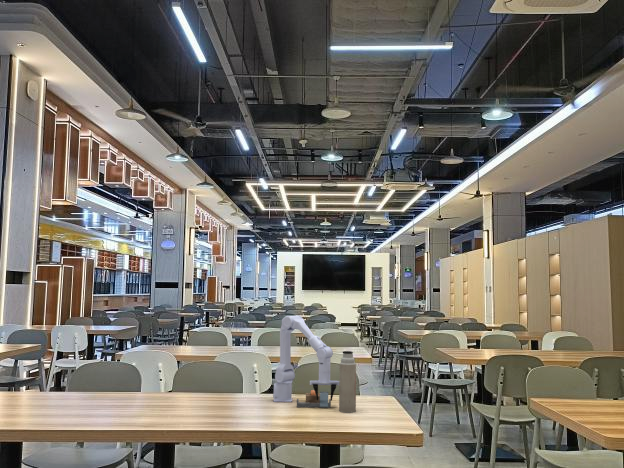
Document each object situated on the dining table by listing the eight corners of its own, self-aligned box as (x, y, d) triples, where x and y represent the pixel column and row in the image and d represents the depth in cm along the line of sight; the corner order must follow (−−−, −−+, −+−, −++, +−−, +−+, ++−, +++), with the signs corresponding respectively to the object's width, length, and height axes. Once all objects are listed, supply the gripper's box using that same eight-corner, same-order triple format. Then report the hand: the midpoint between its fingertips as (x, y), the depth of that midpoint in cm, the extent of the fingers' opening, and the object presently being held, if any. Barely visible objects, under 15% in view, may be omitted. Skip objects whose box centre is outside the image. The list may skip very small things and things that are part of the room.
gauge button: (310, 398, 285) (310, 391, 286) (310, 397, 288) (310, 390, 289) (316, 398, 285) (316, 391, 286) (316, 397, 288) (316, 390, 289)
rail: (296, 407, 274) (296, 399, 274) (296, 406, 277) (296, 398, 277) (330, 407, 274) (330, 400, 274) (330, 406, 277) (330, 399, 277)
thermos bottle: (356, 409, 271) (357, 350, 273) (354, 413, 263) (355, 352, 266) (340, 408, 272) (341, 350, 275) (337, 412, 264) (338, 351, 267)
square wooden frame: (305, 404, 282) (305, 395, 283) (305, 400, 290) (305, 393, 291) (321, 404, 282) (321, 396, 283) (321, 401, 290) (321, 393, 291)
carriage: (319, 406, 273) (320, 393, 274) (319, 404, 278) (319, 391, 279) (328, 406, 273) (328, 393, 274) (327, 404, 278) (328, 391, 279)
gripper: (309, 372, 273) (309, 401, 272) (339, 373, 273) (339, 401, 272) (309, 370, 280) (309, 398, 279) (338, 371, 280) (338, 399, 279)
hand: (324, 400), depth 276 cm, fingers open, 6 cm apart
